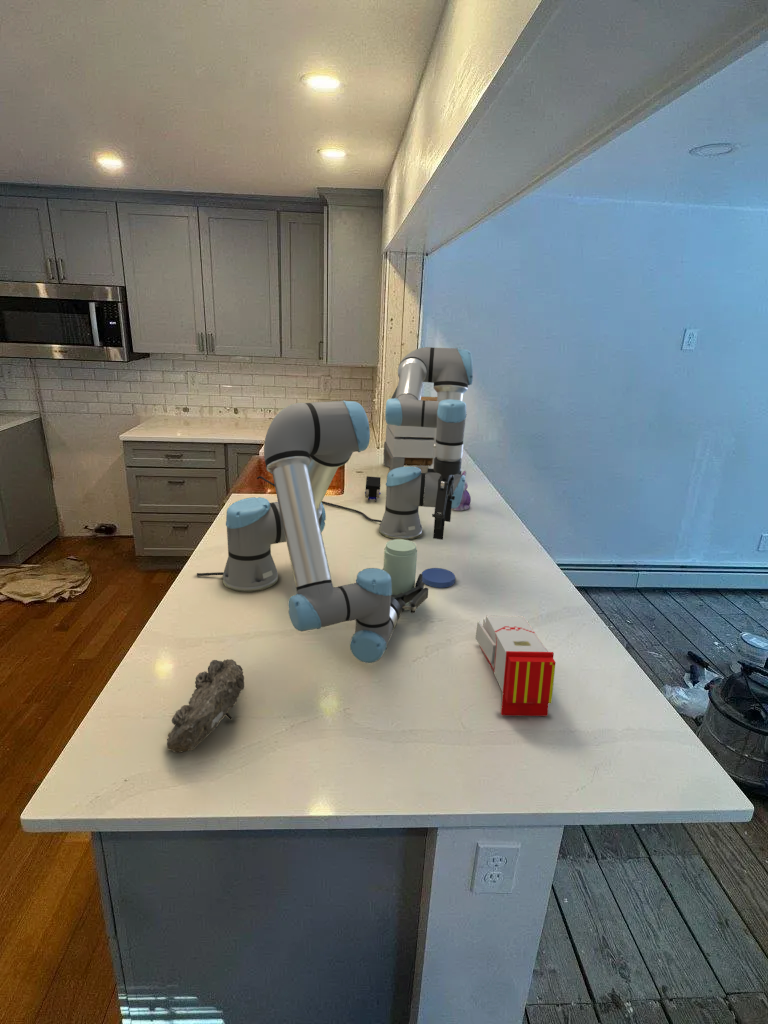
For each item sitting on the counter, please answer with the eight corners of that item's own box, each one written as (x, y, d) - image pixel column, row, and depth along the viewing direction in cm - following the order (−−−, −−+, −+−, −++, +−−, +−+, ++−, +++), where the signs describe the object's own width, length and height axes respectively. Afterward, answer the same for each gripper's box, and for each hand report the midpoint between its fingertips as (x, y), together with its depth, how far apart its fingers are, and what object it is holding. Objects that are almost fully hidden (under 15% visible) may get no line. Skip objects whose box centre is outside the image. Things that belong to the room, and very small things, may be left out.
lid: (414, 579, 167) (414, 574, 166) (435, 569, 174) (435, 564, 173) (441, 591, 160) (441, 586, 160) (461, 580, 167) (461, 575, 167)
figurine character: (380, 506, 230) (380, 491, 243) (381, 489, 227) (381, 475, 240) (364, 506, 230) (364, 491, 243) (364, 489, 226) (365, 474, 240)
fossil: (192, 660, 117) (244, 628, 112) (224, 691, 120) (276, 661, 115) (142, 746, 98) (202, 712, 93) (182, 779, 101) (242, 748, 96)
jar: (420, 604, 153) (424, 545, 147) (398, 614, 147) (401, 554, 142) (397, 592, 159) (400, 536, 153) (375, 602, 153) (377, 543, 147)
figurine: (457, 512, 223) (460, 476, 218) (443, 504, 231) (446, 469, 226) (477, 509, 227) (480, 473, 222) (462, 502, 236) (465, 467, 230)
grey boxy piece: (382, 463, 289) (386, 382, 275) (445, 464, 293) (451, 384, 279) (390, 482, 257) (394, 392, 243) (460, 483, 261) (468, 394, 247)
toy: (522, 601, 137) (564, 658, 107) (517, 652, 139) (557, 722, 110) (472, 600, 136) (500, 657, 107) (468, 651, 139) (495, 721, 110)
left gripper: (337, 622, 138) (362, 582, 159) (427, 637, 133) (441, 594, 154) (338, 594, 136) (363, 557, 156) (430, 609, 131) (443, 569, 151)
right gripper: (441, 445, 167) (436, 512, 174) (426, 468, 144) (420, 544, 152) (467, 448, 165) (460, 515, 173) (455, 472, 143) (448, 548, 150)
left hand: (402, 575), depth 155 cm, fingers open, 10 cm apart
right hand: (441, 529), depth 162 cm, fingers open, 13 cm apart
